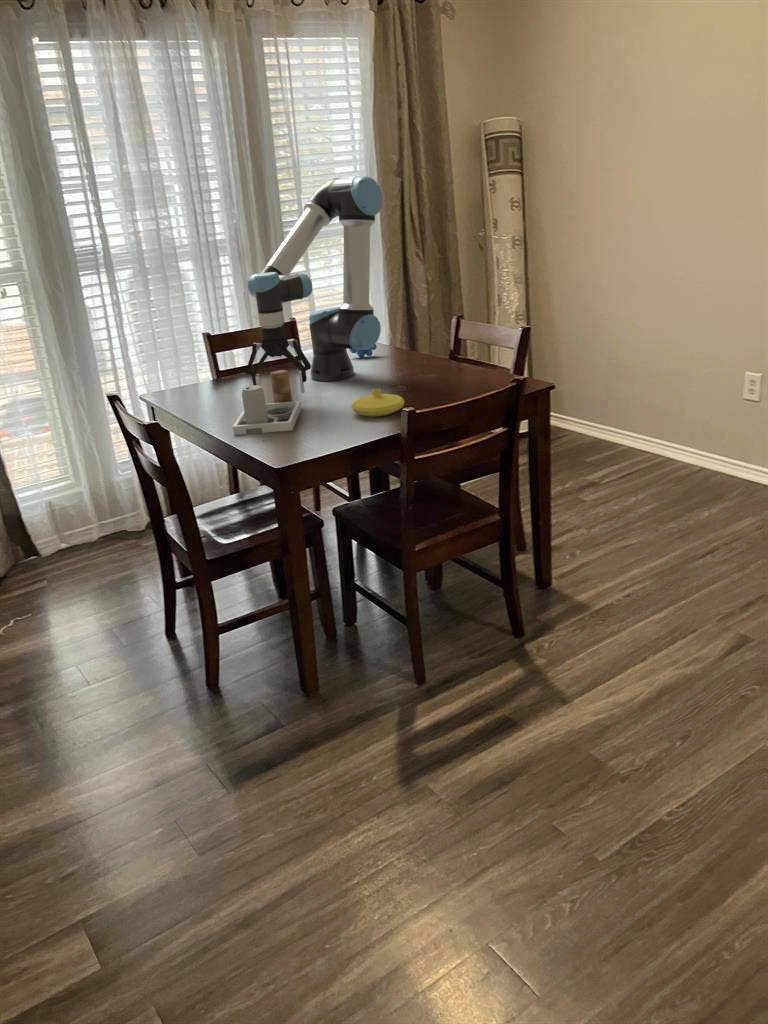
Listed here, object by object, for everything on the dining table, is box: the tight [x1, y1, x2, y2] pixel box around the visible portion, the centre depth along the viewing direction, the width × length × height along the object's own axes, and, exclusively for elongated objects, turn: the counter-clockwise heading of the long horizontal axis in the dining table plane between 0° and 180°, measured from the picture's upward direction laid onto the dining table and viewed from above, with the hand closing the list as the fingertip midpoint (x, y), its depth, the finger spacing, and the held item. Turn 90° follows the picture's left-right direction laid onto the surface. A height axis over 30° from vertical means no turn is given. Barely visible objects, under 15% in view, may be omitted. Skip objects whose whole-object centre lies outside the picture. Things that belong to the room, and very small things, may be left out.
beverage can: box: [241, 384, 269, 425], centre depth 251 cm, size 6×6×12 cm
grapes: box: [349, 343, 377, 358], centre depth 322 cm, size 12×7×12 cm, turn 85°
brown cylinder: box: [269, 369, 293, 403], centre depth 269 cm, size 6×6×11 cm
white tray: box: [232, 400, 302, 436], centre depth 257 cm, size 17×22×2 cm
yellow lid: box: [351, 388, 405, 418], centre depth 255 cm, size 16×16×7 cm
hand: (281, 394), depth 270 cm, fingers open, 13 cm apart
